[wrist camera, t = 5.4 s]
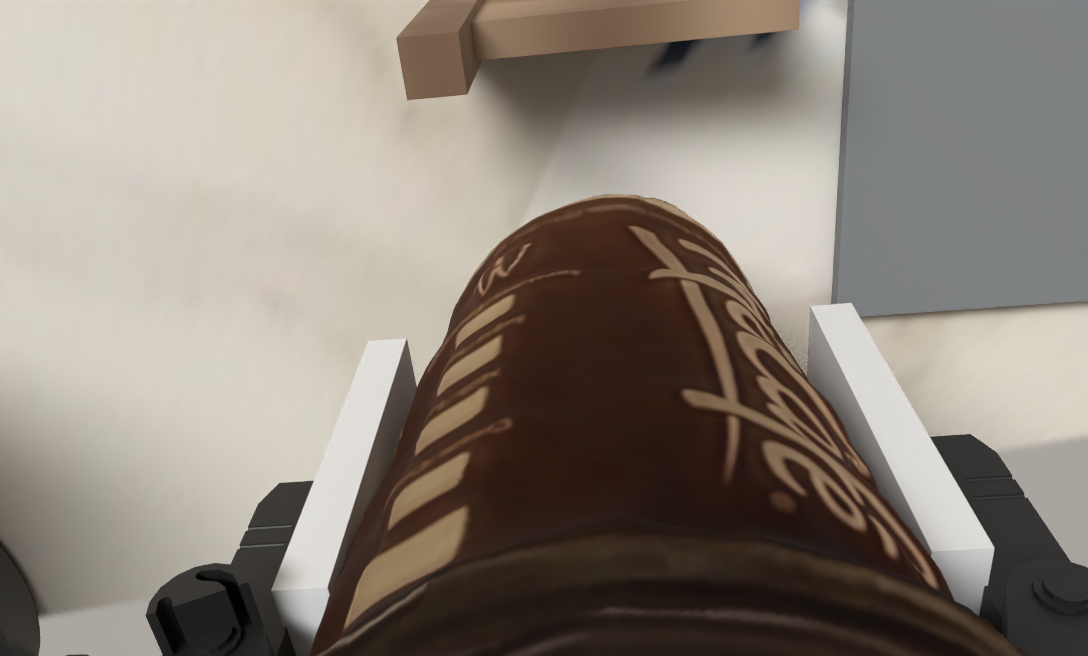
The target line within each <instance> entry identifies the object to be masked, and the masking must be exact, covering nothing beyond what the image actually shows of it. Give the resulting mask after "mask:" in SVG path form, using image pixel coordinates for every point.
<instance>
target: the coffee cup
mask: <svg viewBox="0 0 1088 656" xmlns="http://www.w3.org/2000/svg"><path fill="white" fill-rule="evenodd" d="M309 656H1029V655H1027V654H1025V653H1024V652H1023V651H1022V650H1020V649H1019V648H1017V647H1016V646H1014V645H1012V644H1011V643H1010V642H1009V641H1008V640H1007V639H1006V638H1005V636H1004V635H1002V634H1001V633H999V632H998V631H997V630H996V629H995V628H994V626H993V625H992V624H991V622H989V621H987V620H986V619H984V618H982V617H980V616H978V615H976V614H975V613H974V612H973V611H972V610H971V609H970V608H968V607H966V606H964V605H962V604H960V603H958V602H956V601H955V600H954V598H953V596H952V593H951V591H950V589H949V587H948V584H947V582H946V580H945V578H944V576H943V574H942V572H941V570H940V569H939V567H938V566H937V564H936V563H935V562H934V560H933V559H932V557H931V556H930V554H929V553H928V552H927V550H926V549H925V548H924V546H923V545H922V544H921V542H920V541H919V540H918V539H917V537H916V536H915V535H914V533H913V532H912V531H911V530H910V528H909V527H908V526H907V525H906V524H905V522H904V521H903V520H902V519H901V517H900V516H899V515H898V513H897V512H896V511H895V510H894V508H893V507H892V506H891V505H890V503H889V502H888V501H887V500H886V499H885V498H884V497H883V496H882V495H881V494H880V492H879V490H878V487H877V484H876V481H875V479H874V477H873V475H872V473H871V471H870V469H869V467H868V465H867V464H866V462H865V461H864V460H863V458H862V457H861V455H860V454H859V453H858V452H857V451H856V449H855V448H854V446H853V445H852V443H851V441H850V439H849V436H848V434H847V432H846V429H845V427H844V425H843V423H842V421H841V420H840V418H839V416H838V415H837V413H836V411H835V410H834V408H833V407H832V405H831V404H830V402H829V401H828V400H827V399H826V398H825V397H824V396H823V395H822V394H821V393H820V392H819V391H818V390H817V389H816V388H815V387H814V386H813V385H812V384H811V383H810V382H809V381H808V378H807V377H806V375H805V374H804V373H803V371H802V370H801V368H800V367H799V365H798V363H797V362H796V360H795V359H794V357H793V356H792V354H791V353H790V351H789V350H788V348H787V347H786V346H785V344H784V343H783V341H782V340H781V338H780V336H779V335H778V333H777V332H776V330H775V329H774V327H773V326H772V325H771V322H770V318H769V316H768V313H767V311H766V309H765V307H764V306H763V305H762V303H761V302H760V301H759V299H758V298H757V297H756V295H755V294H754V292H753V289H752V287H751V285H750V283H749V281H748V279H747V278H746V276H745V275H744V273H743V272H742V270H741V269H740V267H739V266H738V264H737V263H736V261H735V260H734V258H733V257H732V255H731V254H730V253H729V251H728V250H727V248H726V247H725V246H724V244H723V243H722V242H721V241H720V240H719V239H718V238H717V237H716V236H715V235H713V234H712V233H711V232H710V231H709V230H707V229H706V228H705V227H704V226H703V225H701V224H700V223H698V222H697V221H695V220H694V219H692V218H691V217H689V216H688V215H687V214H686V213H685V212H683V211H681V210H680V209H678V208H677V207H676V206H674V205H672V204H670V203H668V202H666V201H662V200H659V199H656V198H644V197H640V196H637V195H601V196H595V197H591V198H588V199H584V200H581V201H577V202H574V203H571V204H569V205H566V206H564V207H561V208H558V209H556V210H553V211H550V212H548V213H545V214H543V215H541V216H539V217H536V218H535V219H533V220H531V221H530V222H528V223H527V224H525V225H524V226H522V227H520V228H519V229H517V230H516V231H514V232H513V233H512V234H510V235H509V236H508V237H506V238H505V239H504V240H502V241H501V242H500V243H499V244H498V245H497V246H496V247H495V248H494V249H493V250H492V251H491V252H490V253H489V254H488V256H487V257H486V259H485V260H484V261H483V262H482V264H481V265H480V266H479V267H478V268H477V270H476V271H475V272H474V274H473V276H472V277H471V279H470V281H469V282H468V284H467V286H466V288H465V290H464V292H463V294H462V295H461V297H460V299H459V301H458V303H457V304H456V306H455V308H454V311H453V314H452V317H451V320H450V324H449V328H448V332H447V335H446V337H445V339H444V341H443V344H442V346H441V347H440V349H439V350H438V351H437V353H436V354H435V356H434V357H433V358H432V360H431V361H430V363H429V365H428V366H427V368H426V370H425V372H424V374H423V376H422V378H421V380H420V382H419V384H418V387H417V390H416V393H415V396H414V399H413V402H412V405H411V408H410V411H409V413H408V415H407V418H406V420H405V422H404V424H403V426H402V429H401V432H400V435H399V438H398V442H397V445H396V450H395V454H394V459H393V461H392V464H391V466H390V469H389V471H388V473H387V476H386V477H385V479H384V481H383V482H382V484H381V486H380V488H379V490H378V491H377V493H376V494H375V496H374V497H373V499H372V500H371V502H370V504H369V505H368V507H367V508H366V510H365V512H364V515H363V518H362V521H361V524H360V526H359V529H358V532H357V535H356V538H355V540H354V542H353V544H352V546H351V549H350V553H349V557H348V559H347V561H346V564H345V566H344V569H343V571H342V573H341V574H340V576H339V578H338V579H337V581H336V583H335V585H334V587H333V590H332V592H331V594H330V596H329V598H328V601H327V606H326V608H325V611H324V614H323V617H322V620H321V622H320V625H319V627H318V630H317V632H316V635H315V638H314V642H313V645H312V649H311V652H310V655H309Z"/></svg>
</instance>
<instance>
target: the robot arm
mask: <svg viewBox="0 0 1088 656" xmlns="http://www.w3.org/2000/svg"><path fill="white" fill-rule="evenodd" d="M807 378H808V381H809V382H810V383H811V384H812V385H813V386H814V387H815V388H816V389H817V390H818V391H819V392H820V393H821V394H822V395H823V396H824V397H825V398H826V399H827V400H828V401H829V402H830V404H831V405H832V407H833V408H834V410H835V411H836V413H837V415H838V416H839V418H840V420H841V421H842V423H843V425H844V427H845V429H846V432H847V434H848V436H849V439H850V441H851V443H852V445H853V446H854V448H855V449H856V451H857V452H858V453H859V454H860V455H861V457H862V458H863V460H864V461H865V462H866V464H867V465H868V467H869V469H870V471H871V473H872V475H873V477H874V479H875V481H876V484H877V487H878V490H879V492H880V494H881V495H882V496H883V497H884V498H885V499H886V500H887V501H888V502H889V503H890V505H891V506H892V507H893V508H894V510H895V511H896V512H897V513H898V515H899V516H900V517H901V519H902V520H903V521H904V522H905V524H906V525H907V526H908V527H909V528H910V530H911V531H912V532H913V533H914V535H915V536H916V537H917V539H918V540H919V541H920V542H921V544H922V545H923V546H924V548H925V549H926V550H927V552H928V553H929V554H930V556H931V557H932V559H933V560H934V562H935V563H936V564H937V566H938V567H939V569H940V570H941V572H942V574H943V576H944V578H945V580H946V582H947V584H948V587H949V589H950V591H951V593H952V596H953V598H954V600H955V601H956V602H958V603H960V604H962V605H964V606H966V607H968V608H970V609H971V610H972V611H973V612H974V613H975V614H976V615H978V616H980V617H982V618H984V619H986V620H987V621H989V622H991V624H992V625H993V626H994V628H995V629H996V630H997V631H998V632H999V633H1001V634H1002V635H1004V636H1005V638H1006V639H1007V640H1008V641H1009V642H1010V643H1011V644H1012V645H1014V646H1016V647H1017V648H1019V649H1020V650H1022V651H1023V652H1024V653H1025V654H1027V655H1029V656H1088V568H1087V567H1085V566H1081V565H1078V564H1075V563H1072V562H1070V560H1069V559H1068V557H1067V556H1066V554H1065V553H1064V551H1063V550H1062V548H1061V547H1060V546H1059V544H1058V542H1057V541H1056V540H1055V538H1054V536H1053V535H1052V534H1051V532H1050V531H1049V529H1048V528H1047V526H1046V525H1045V523H1044V522H1043V520H1042V519H1041V517H1040V516H1039V514H1038V513H1037V511H1036V510H1035V509H1034V507H1033V506H1032V504H1031V503H1030V501H1029V499H1028V498H1025V496H1024V492H1023V491H1022V489H1021V488H1020V486H1019V485H1018V483H1017V482H1016V480H1013V479H1012V475H1011V473H1010V471H1009V470H1008V468H1007V467H1006V465H1005V464H1004V463H1003V461H1002V460H1001V458H1000V457H999V455H998V454H997V453H996V452H995V451H994V450H992V449H991V448H989V447H988V446H987V445H985V444H984V443H982V442H981V441H979V440H978V439H977V438H975V437H974V436H972V435H971V434H966V435H951V436H936V437H929V435H928V433H927V431H926V430H925V428H924V426H923V425H922V423H921V421H920V419H919V418H918V416H917V414H916V413H915V411H914V409H913V407H912V406H911V404H910V402H909V401H908V399H907V397H906V395H905V394H904V392H903V390H902V389H901V387H900V385H899V383H898V382H897V380H896V378H895V377H894V375H893V373H892V371H891V370H890V368H889V366H888V365H887V363H886V361H885V360H884V358H883V356H882V354H881V353H880V351H879V349H878V348H877V346H876V344H875V342H874V341H873V339H872V337H871V336H870V334H869V332H868V330H867V329H866V327H865V325H864V324H863V322H862V320H861V318H860V317H859V315H858V313H857V312H856V310H855V308H854V306H853V305H852V303H843V304H830V305H817V306H810V323H809V347H808V370H807ZM416 390H417V386H416V381H415V376H414V371H413V366H412V362H411V357H410V352H409V347H408V342H407V338H400V339H387V340H375V341H368V343H367V346H366V348H365V351H364V353H363V356H362V359H361V361H360V364H359V366H358V369H357V371H356V374H355V377H354V379H353V382H352V384H351V387H350V389H349V392H348V395H347V397H346V400H345V402H344V405H343V407H342V410H341V412H340V415H339V418H338V420H337V423H336V425H335V428H334V430H333V433H332V436H331V438H330V441H329V443H328V446H327V448H326V451H325V454H324V456H323V459H322V461H321V464H320V466H319V469H318V471H317V474H316V477H315V479H314V481H304V482H289V483H279V484H278V485H277V486H276V487H275V488H274V489H273V490H272V491H271V492H270V493H269V494H268V495H267V496H266V497H265V498H264V499H263V500H262V501H261V502H260V503H259V504H258V506H257V508H256V510H255V512H254V515H253V517H252V519H251V521H250V523H249V526H248V531H246V532H245V534H244V536H243V539H242V541H241V543H240V549H238V550H237V552H236V554H235V556H234V558H233V561H232V563H231V565H229V564H218V563H213V564H208V565H203V566H198V567H195V568H192V569H190V570H188V571H186V572H183V573H181V574H179V575H177V576H175V577H174V578H173V579H171V580H170V581H169V582H167V583H166V584H165V585H163V586H162V587H161V588H160V589H159V590H158V592H157V593H156V594H155V596H154V597H153V598H152V599H151V601H150V603H149V606H148V610H147V613H146V618H147V620H148V622H149V624H150V627H151V629H152V631H153V633H154V636H155V638H156V640H157V643H158V645H159V647H160V649H161V652H162V654H163V655H162V656H309V655H310V652H311V649H312V645H313V642H314V638H315V635H316V632H317V630H318V627H319V625H320V622H321V620H322V617H323V614H324V611H325V608H326V606H327V601H328V598H329V596H330V594H331V592H332V590H333V587H334V585H335V583H336V581H337V579H338V578H339V576H340V574H341V573H342V571H343V569H344V566H345V564H346V561H347V559H348V557H349V553H350V549H351V546H352V544H353V542H354V540H355V538H356V535H357V532H358V529H359V526H360V524H361V521H362V518H363V515H364V512H365V510H366V508H367V507H368V505H369V504H370V502H371V500H372V499H373V497H374V496H375V494H376V493H377V491H378V490H379V488H380V486H381V484H382V482H383V481H384V479H385V477H386V476H387V473H388V471H389V469H390V466H391V464H392V461H393V459H394V454H395V450H396V445H397V442H398V438H399V435H400V432H401V429H402V426H403V424H404V422H405V420H406V418H407V415H408V413H409V411H410V408H411V405H412V402H413V399H414V396H415V393H416ZM39 648H40V627H39V621H38V616H37V612H36V608H35V605H34V602H33V600H32V597H31V594H30V592H29V590H28V588H27V586H26V584H25V582H24V580H23V578H22V577H21V575H20V573H19V572H18V570H17V569H16V567H15V566H14V564H13V562H12V561H11V560H10V558H9V557H8V556H7V554H6V553H5V552H4V551H3V549H2V548H1V547H0V656H38V654H39ZM67 656H88V655H67Z"/></svg>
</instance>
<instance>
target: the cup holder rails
mask: <svg viewBox="0 0 1088 656" xmlns="http://www.w3.org/2000/svg"><path fill="white" fill-rule="evenodd" d="M799 4H800V0H430V1H429V2H428V3H427V4H426V5H425V6H424V7H423V8H422V10H421V11H420V12H419V13H418V14H417V15H416V16H415V17H414V19H413V20H412V21H411V22H410V23H409V24H408V25H407V26H406V28H405V29H404V30H403V31H402V32H401V33H400V34H399V35H398V37H397V38H396V39H397V45H398V50H399V56H400V62H401V67H402V73H403V79H404V84H405V90H406V95H407V100H413V99H424V98H435V97H445V96H456V95H467V94H468V91H469V89H470V87H471V85H472V82H473V80H474V78H475V76H476V73H477V71H478V69H479V67H480V64H481V62H482V60H490V59H500V58H510V57H521V56H531V55H541V54H551V53H562V52H572V51H582V50H593V49H603V48H613V47H623V46H634V45H644V44H654V43H665V42H675V41H685V40H695V39H706V38H716V37H726V36H737V35H747V34H757V33H767V32H778V31H788V30H798V29H799Z"/></svg>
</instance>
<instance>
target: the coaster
mask: <svg viewBox="0 0 1088 656" xmlns="http://www.w3.org/2000/svg"><path fill="white" fill-rule="evenodd" d="M1080 301H1088V0H848V12H847V30H846V48H845V66H844V84H843V102H842V120H841V138H840V156H839V175H838V193H837V211H836V229H835V247H834V265H833V283H832V301H831V304H843V303H852V305H853V306H854V308H855V310H856V312H857V313H858V315H859V317H864V316H879V315H893V314H907V313H922V312H936V311H951V310H965V309H979V308H994V307H1008V306H1022V305H1037V304H1051V303H1066V302H1080Z"/></svg>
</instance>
